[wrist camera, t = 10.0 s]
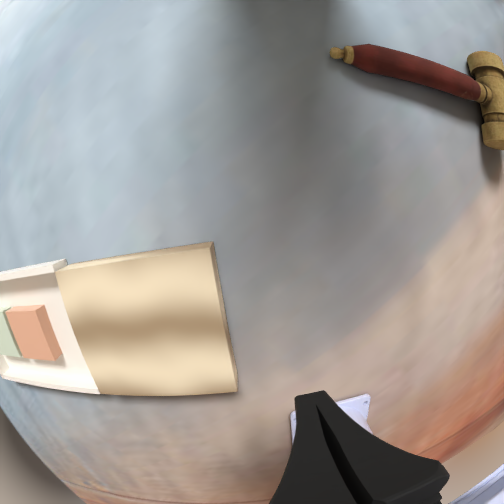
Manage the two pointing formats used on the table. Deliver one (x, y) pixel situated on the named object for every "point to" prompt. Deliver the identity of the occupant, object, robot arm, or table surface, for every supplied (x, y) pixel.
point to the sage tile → (7, 336)
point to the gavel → (441, 79)
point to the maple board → (152, 322)
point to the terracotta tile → (34, 332)
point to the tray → (48, 293)
